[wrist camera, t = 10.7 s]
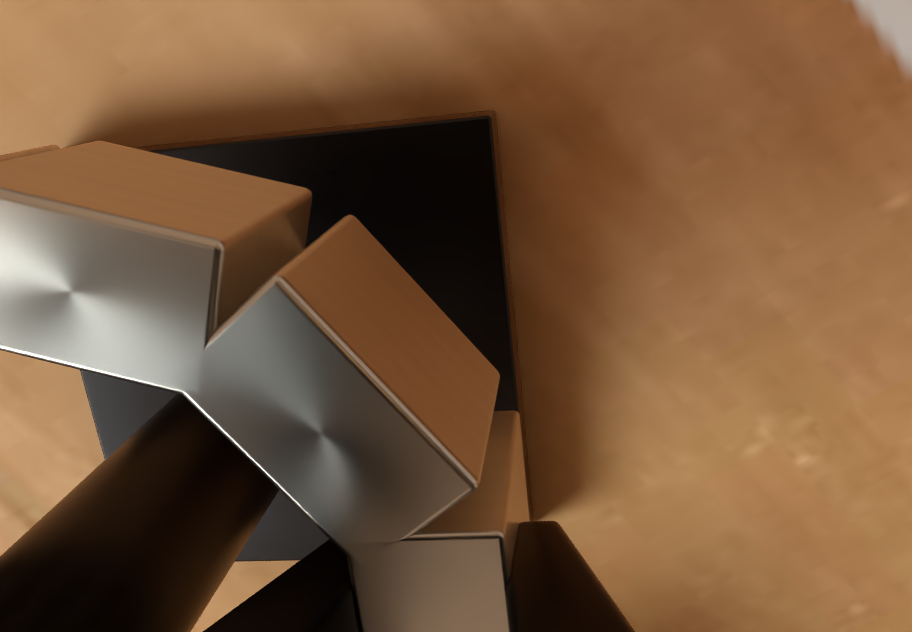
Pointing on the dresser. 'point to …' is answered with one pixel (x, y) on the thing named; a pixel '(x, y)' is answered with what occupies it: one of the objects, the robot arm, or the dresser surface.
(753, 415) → the dresser surface
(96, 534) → the post
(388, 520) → the ring
